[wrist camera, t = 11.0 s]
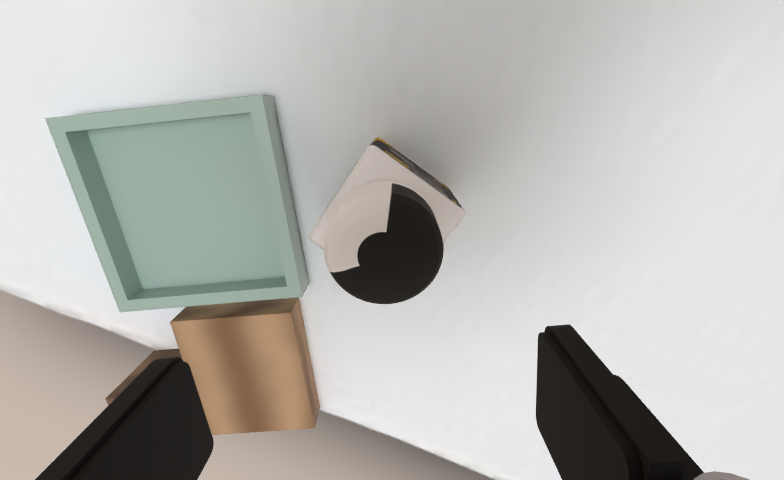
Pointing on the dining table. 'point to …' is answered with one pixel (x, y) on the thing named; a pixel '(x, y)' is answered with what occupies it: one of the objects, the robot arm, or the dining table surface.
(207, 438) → the robot arm
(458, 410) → the dining table surface
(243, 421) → the tan wooden block
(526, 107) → the dining table surface
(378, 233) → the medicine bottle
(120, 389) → the dark brown wooden block
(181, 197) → the tray
